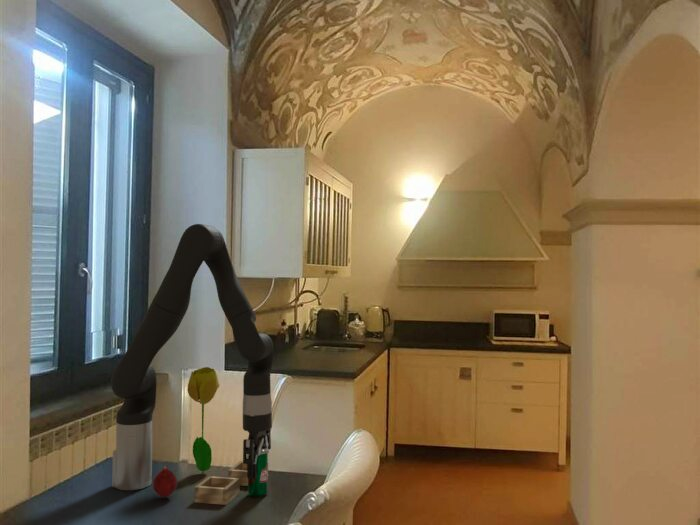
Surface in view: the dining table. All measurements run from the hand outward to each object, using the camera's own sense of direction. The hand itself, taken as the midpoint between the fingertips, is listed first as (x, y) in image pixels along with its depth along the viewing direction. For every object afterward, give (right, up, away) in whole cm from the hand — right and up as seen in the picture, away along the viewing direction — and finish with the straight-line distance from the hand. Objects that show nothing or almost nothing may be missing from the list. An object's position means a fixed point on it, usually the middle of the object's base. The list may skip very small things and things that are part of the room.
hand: (257, 473), depth 159 cm
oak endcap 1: (-10, -5, -2) cm, 12 cm away
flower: (-18, -6, +17) cm, 26 cm away
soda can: (0, -6, 0) cm, 6 cm away
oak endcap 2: (-4, -6, +11) cm, 13 cm away
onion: (-23, -6, -3) cm, 24 cm away
